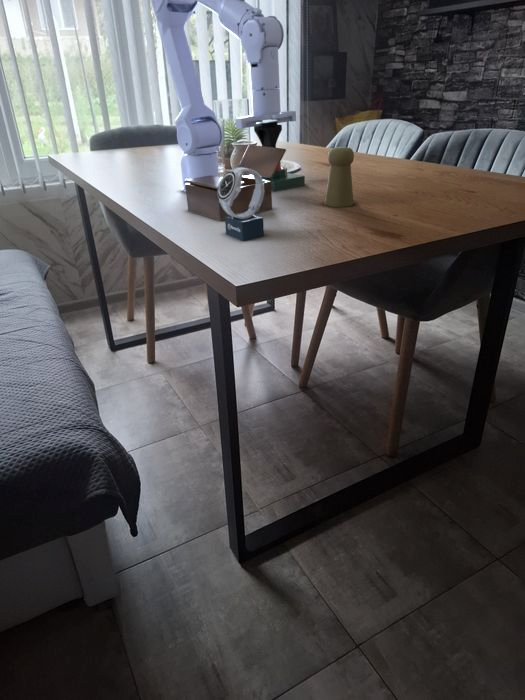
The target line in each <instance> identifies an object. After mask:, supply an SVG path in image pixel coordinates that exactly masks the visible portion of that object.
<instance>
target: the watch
mask: <svg viewBox="0 0 525 700" xmlns="http://www.w3.org/2000/svg"><path fill="white" fill-rule="evenodd" d="M245 171H248V172H249V173H251V174H252V176H254V179H255V181H256V185H255V189H254V193H253V197H252V200H251V202H250V204H249V209H248V211H246V212H243V213H238V214H234V213H233V212H232V210H231V208H230V207H231V206H232V203H233V200H234V199H235V198H236V196H237V195H238V194H239V192H240V191H241V179H242V176H244V174H245V173H243V172H245ZM251 174H250V175H251ZM264 192H265V190H264V182H263V179H262V177H261V176H260V174H259V173H258V172H256V171H255V170H252V169H248V168H242V167H239V168H238V167H234V168H232V169H230V170H228V171H227V172H225V173H224V174H223V176H222V179H221V180H220V183H219V185H218V191H217V194H218V198H219V201H220V203H221V206H222V208H223V210H224V211H225V212H226V213H227V214H229V216H225V220H224V223H225V224H224V227H225V235H227V236H229V237H232V238H234V239H236V240H239V241H241V242H245V241H248V240H253V239H258V238H261V237H264V236H265V227H264V226H265V225H264V217H263V216H259V215H256V214H257V213H259V212H258V210H259V208H260V206H261V203H262V201H263V197H264ZM256 212H257V213H256Z"/></svg>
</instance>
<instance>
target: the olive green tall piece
mask: <svg viewBox="0 0 525 700" xmlns="http://www.w3.org/2000/svg"><path fill="white" fill-rule="evenodd" d="M327 153H328V154H327V162H328V164H329V165H330V166H329V172H328V178H327V186H326V191H325V198H324V205H325V206H327V207H333V208H344V207H351V206H353V205H354V190H353V179H352V164H353V162H354V159H355V153H354V151H353V149H352V148H350V147H347V146H336V147H333V148H330V149H329V151H328V152H327Z"/></svg>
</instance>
